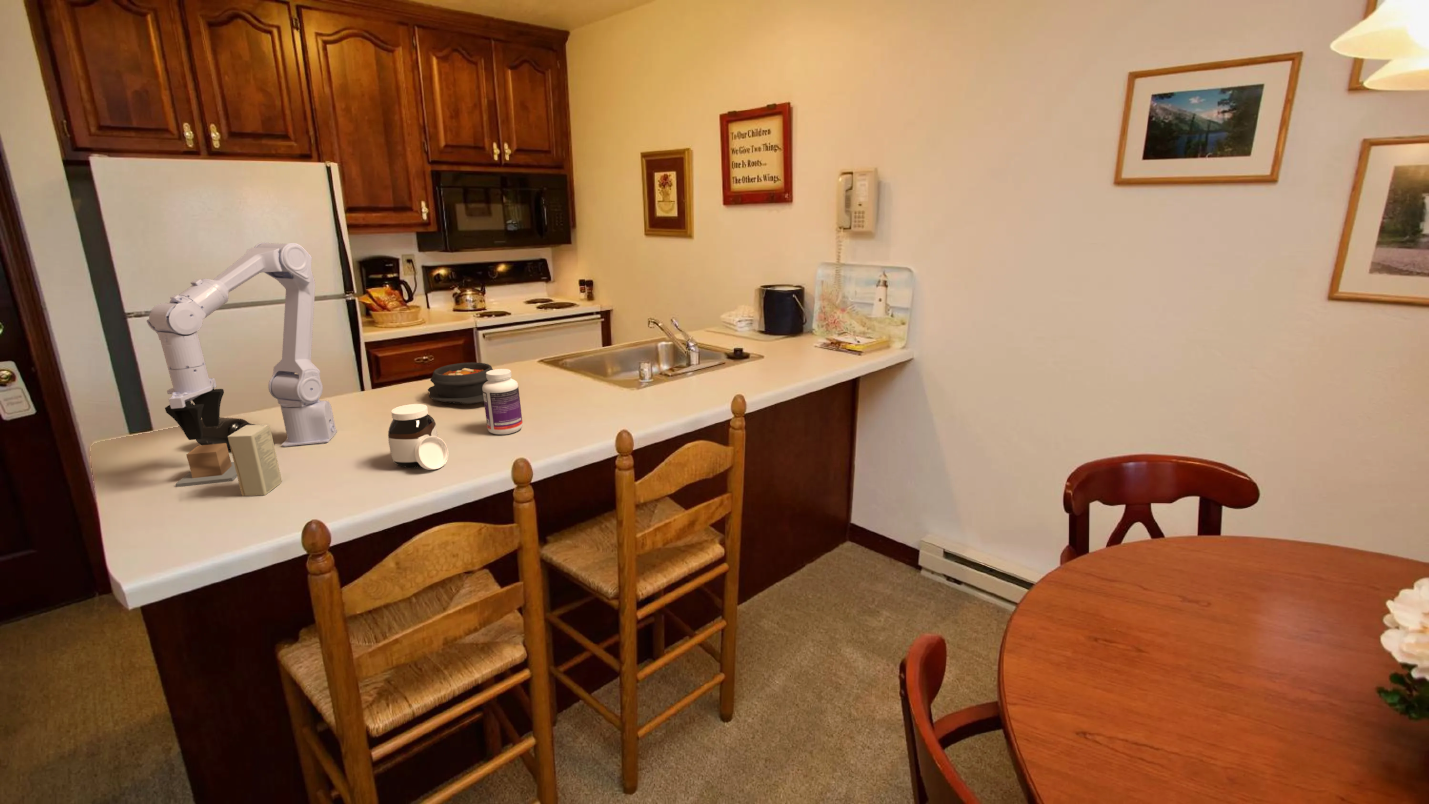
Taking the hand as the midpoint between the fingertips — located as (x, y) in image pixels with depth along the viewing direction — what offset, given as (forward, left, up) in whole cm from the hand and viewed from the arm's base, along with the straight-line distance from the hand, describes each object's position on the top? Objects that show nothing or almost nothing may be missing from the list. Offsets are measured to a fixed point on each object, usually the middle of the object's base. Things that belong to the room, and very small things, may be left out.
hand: (204, 432), depth 130 cm
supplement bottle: (+8, -19, -6) cm, 22 cm away
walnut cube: (0, 0, -8) cm, 8 cm away
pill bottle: (-56, -10, -9) cm, 58 cm away
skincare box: (-12, +11, -9) cm, 19 cm away
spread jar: (-40, +6, -9) cm, 42 cm away
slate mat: (0, 0, -9) cm, 9 cm away
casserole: (-45, -41, -9) cm, 62 cm away
